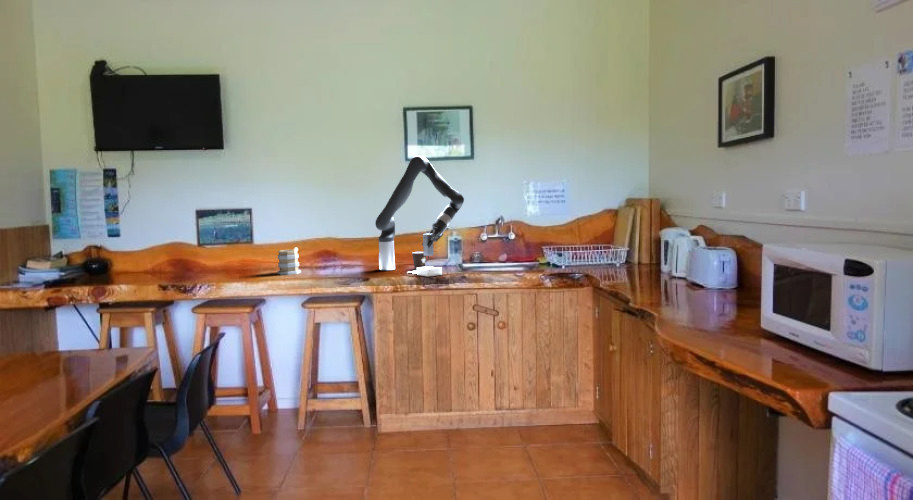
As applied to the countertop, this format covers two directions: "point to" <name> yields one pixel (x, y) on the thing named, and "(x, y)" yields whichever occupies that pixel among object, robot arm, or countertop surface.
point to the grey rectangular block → (427, 250)
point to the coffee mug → (419, 259)
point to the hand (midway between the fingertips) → (425, 245)
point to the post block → (427, 271)
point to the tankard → (288, 262)
